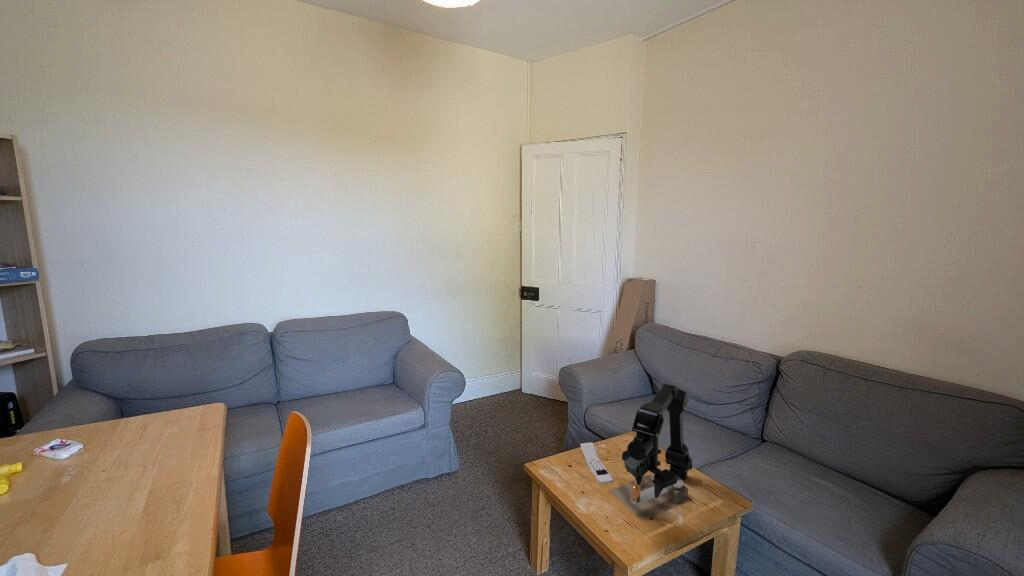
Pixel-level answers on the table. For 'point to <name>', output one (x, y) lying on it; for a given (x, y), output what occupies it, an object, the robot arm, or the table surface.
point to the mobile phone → (595, 463)
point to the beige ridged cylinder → (641, 481)
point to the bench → (653, 504)
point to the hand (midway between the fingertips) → (647, 490)
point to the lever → (650, 491)
